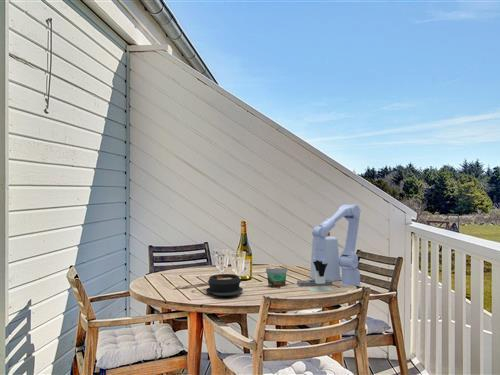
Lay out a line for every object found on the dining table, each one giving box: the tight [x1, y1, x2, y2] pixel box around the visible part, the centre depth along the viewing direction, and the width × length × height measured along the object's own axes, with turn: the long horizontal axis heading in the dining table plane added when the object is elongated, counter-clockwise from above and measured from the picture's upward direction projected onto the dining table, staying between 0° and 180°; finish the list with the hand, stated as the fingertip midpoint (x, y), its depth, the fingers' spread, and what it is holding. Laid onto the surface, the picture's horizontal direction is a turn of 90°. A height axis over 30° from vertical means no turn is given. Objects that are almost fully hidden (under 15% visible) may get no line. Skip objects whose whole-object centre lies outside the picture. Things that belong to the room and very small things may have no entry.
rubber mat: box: [307, 286, 334, 292], centre depth 203 cm, size 12×8×1 cm, turn 98°
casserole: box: [205, 273, 244, 297], centre depth 197 cm, size 25×19×8 cm
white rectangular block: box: [315, 271, 325, 284], centre depth 203 cm, size 4×3×6 cm, turn 98°
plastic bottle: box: [310, 231, 342, 282], centre depth 229 cm, size 15×15×28 cm
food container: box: [265, 266, 289, 288], centre depth 211 cm, size 12×6×10 cm, turn 105°
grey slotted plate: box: [296, 279, 333, 288], centre depth 213 cm, size 18×6×3 cm, turn 98°
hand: (320, 275), depth 203 cm, fingers closed on white rectangular block, 3 cm apart
